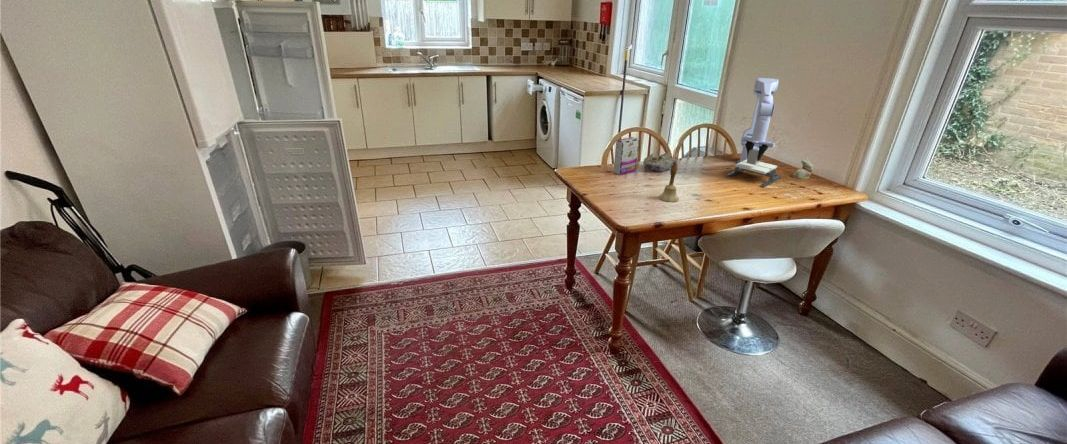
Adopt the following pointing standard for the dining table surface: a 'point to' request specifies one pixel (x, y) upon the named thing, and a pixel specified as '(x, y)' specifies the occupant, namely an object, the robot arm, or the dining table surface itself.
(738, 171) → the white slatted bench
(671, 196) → the hand bell
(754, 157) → the gray rectangular block
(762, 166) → the trapdoor
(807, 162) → the open clam shell
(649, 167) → the geode
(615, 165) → the candy bar box
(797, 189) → the dining table surface
